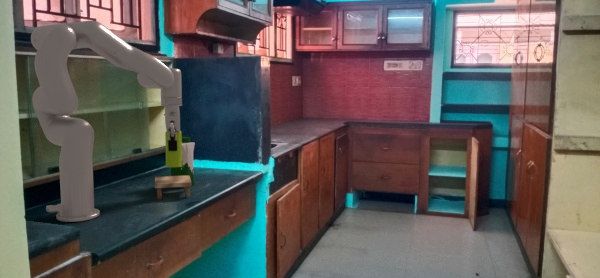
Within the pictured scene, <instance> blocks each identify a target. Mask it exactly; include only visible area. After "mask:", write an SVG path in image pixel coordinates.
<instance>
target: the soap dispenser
mask: <svg viewBox="0 0 600 278" xmlns="http://www.w3.org/2000/svg"><path fill="white" fill-rule="evenodd" d="M171 114H172V113H171ZM163 116H164V117H165V113H163ZM170 126H171V122H170ZM170 132H171V131H170ZM174 132H175V131H174ZM178 132H179V131H177V130H176V140H177V151H168V140H169V131H168V132H167V131H165V133H164V134H165V135H164V136H165V167H166V168H171V167H181V166H182V137H183V136H182V131H181V130H180V132H179V133H178Z"/></svg>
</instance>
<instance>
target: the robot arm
mask: <svg viewBox="0 0 600 278" xmlns="http://www.w3.org/2000/svg"><path fill="white" fill-rule="evenodd" d="M30 42H31V45H32V47H34V49H35V50H36V53H35V56H34V70H35V71H34V72H35V74H36V77H37V79H38V80H37V81H38V83H39V86H38V87H37V88H36V89H35V91H34V92H33V94H32V97H31V99H32V107H33V110H34V113H35V115H36V117H37V120H38V121H39V124H40V127H41V129H42V132H43V134H44V136H45V138H46V140H48V141H49V142H50V143H52V144H53V145H55V146H59V147H61V148H60V154H59V160H58V165H59V166H58V168H59V185H60V203H57V204H54V205H53V204H49V205H46V206H45V207H46V208H45V211H46V212H48V213H57V214H55V215H56V218H55V219H56V220H57V221H60V222H64V223H71V222H72V223H73V222H74V223H75V222H76V223H77V222H83V221H84V222H86V221H88V220H89V221H90V220H93V219H95V218H98V217H99V216H100V215H101V213H100V212H101V211H100V210H99V209H98V208H95V193H94V192H95V191H94V171H93V170H94V169H93V168H94V167H93V165H94V164H93V150H94V142H95V131H94V128H93V126H92V125H91V124H90V123H89V122H88V121H87V120H85V119H82V118H80V117H71V116H70V115H73V114H75V112H76V111H78V108H79V104H80V103H79V98H78V95H77V93H76V90H75V88H74V85H73V82H72V79H71V76H70V73H69V70H68V64H67V63H68V58H69V55H70V53H71V52H72V50H79V49H90V50H92V51H93V52H94V53H96V54H98V55H99V56H101V57H102V58H104V59H105V60H107V62H110V63H111V64H112V65H114V66H115V67H118V68H120V69H123V70H126V71H127V70H128V71H132V72H135V73H137V75H136V78H137V79H136V80H137V82H138V83H139V85H140V86H141V87H143V88H146V89H153V90H154V89H160V105H161V107H164V114H165V116H164V124H165V130H166V131H165V132H168V131H169V140H168V151H177V140H176V130H177V131H179V132H180V131H181V116H180V115H181V113H180V107H182V106H183V98H182V97H183V96H182V93H183V92H182V88H183V87H182V71H181V69H179V68H173V67H172V68H171V67H170V68H169V67H168V66H167V65H165V63H163V62H162V61H161V60H159V59H158V58H157V57H155V56H153V55H151V54H149V53H148V52H144V51H143V50H141V49H139V48H137V47H135V46H133V45H131V44H129V43H128V42H127V41H125V40H124V39H122V37H120V36H119V35H117V34H116V33H114V31H112V30H111V29H109V28H108V27H106V26H105V24H103V23H101V22H100V21H98V20H97V21H96V20H84V21H83V20H82V21H76V22H69V23H55V24H47V25H40V26H38V27H36V28H35V29H34V30H32V32H31V35H30ZM171 113H172V114H171ZM170 122H171V126H170ZM170 131H171V132H170ZM174 131H175V132H174ZM179 132H178V133H179Z"/></svg>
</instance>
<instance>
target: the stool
mask: <svg viewBox="0 0 600 278" xmlns="http://www.w3.org/2000/svg"><path fill="white" fill-rule="evenodd" d="M178 187H184V188H183V192H184V197H185V199H188V198H190V197H191V196H190V192H191V190H190V187H192V182H191V179H190V176H189V175H187V176H171V175H168V176H167V175H166V176H165V175H164V176H155V177H154V188H155V189H156V194H157V195H156V197H157V199H156V200H159V201H160V200H162V199H163V192H162V189H163V188H164V189H166V188H178Z"/></svg>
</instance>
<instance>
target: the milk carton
mask: <svg viewBox="0 0 600 278" xmlns="http://www.w3.org/2000/svg"><path fill="white" fill-rule="evenodd" d="M195 144H196V143H195V142H192V141H191V137H190V136H182V166H181V167H170V176H187V175H189V176H190V179H191V182H192V186H195V175H194V172H195V171H194V150H195ZM192 186H191V187H192ZM177 188H178V189H184V187H177Z"/></svg>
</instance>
